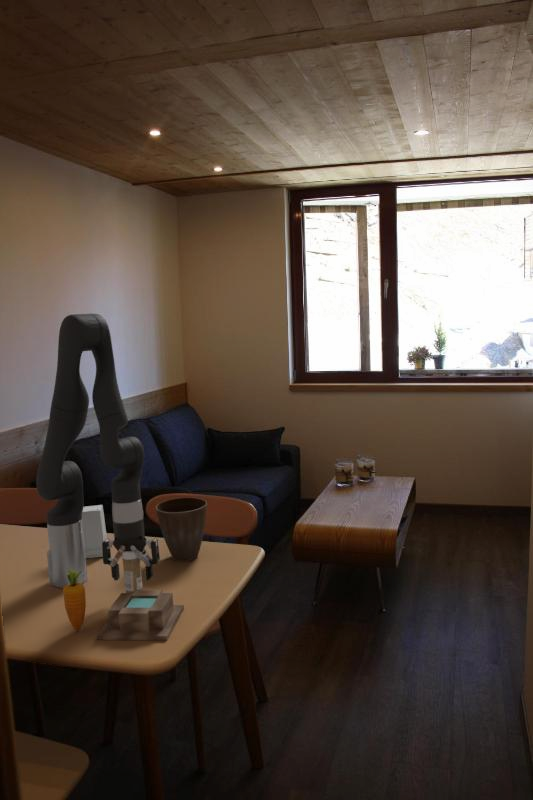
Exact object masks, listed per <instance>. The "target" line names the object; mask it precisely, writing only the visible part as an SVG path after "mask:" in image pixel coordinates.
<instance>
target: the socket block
mask: <svg viewBox="0 0 533 800" xmlns="http://www.w3.org/2000/svg"><path fill="white" fill-rule="evenodd" d="M132 598H157V599H156V600H155V602H154V603H153V605H152V607H151V608H126V607H127V605H128V604H129V602H130V601H131V600H132ZM184 610H185V606H184V604H174V598H173V592H163V590H161V589H159V590H158V589H157V590H155V589H154V590H153V589H151V590H150V589H149V590H145V589H144V590H143V589H142V590H135V592H134V593H126V592H121V593H120V594H119V595H118V597H117V598H116V599H115V601H114V602H113V603H112V604H111V606H110V607H109V608H108V610H107V615H108V621H107V622H106V624H105V625H104V626H103V628H102V629H101V630H100V631H99V633H98V635H97V640H98V639H103V640H102V641H168V640H169V638H170V636H171V634H172V633H173V631H174V628H175V626H176V624H177V623H178V621H179V619H180V618H181V615H182V613H183V611H184Z"/></svg>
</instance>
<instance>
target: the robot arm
mask: <svg viewBox="0 0 533 800" xmlns="http://www.w3.org/2000/svg"><path fill="white" fill-rule="evenodd" d="M57 349H58V350H57V362H56V363H57V365H56V373H55V381H54V388H53V393H52V399H51V404H50V411H49V419H48V425H47V429H46V431H47V432H46V436H45V441H44V446H43V451H42V454H41V457H40V461H39V465H38V469H37V473H36V477H35V478H36V480H35V482H36V483H35V484H36V490H37V493H38V495H39V496H40V498H42V500H45V501H54V500H57V501H56V503H55V504H54V505H53V506H52V507H51V508H50V509H49V510H48V511H47V513H46V516H45V518H46V525H47V534H48V535H47V538H48V547H49V548H48V550H47V552H46V558H47V559H46V561H47V569H48V580H49V586H54V587H57V588H62V589H63V588H64V587H65V586H66V585H68V584H70V581H69V580H68V577H67V573H69V571H68V570H69V569H72V573H73V571H76V575H77V573H78V572H79V571H82V572H81V573H80V574H79V576H78V578H77V579H78V581H77V582H76V583H82V584H84V583H86V582H87V580H88V570H87V558H86V556H85V545H84V534H83V524H82V511H83V507H85V506H84V504H85V503H84V482H83V475H82V471H81V469H80V467H79V466H78V465H77V463H76V462H74V461H71V460H65V459H66V457H67V453H69V450H70V449H71V447H72V446H73V444H74V443H75V441H76V440H77V439H78V437H79V436H80V434H81V433H82V431H83V430H84V427H85V425H86V422H87V417H88V412H89V405H90V397H89V393H88V391H87V388H86V386H85V384H84V381H83V380H82V377H81V373H80V372H81V371H80V366H81V358H82V354H83V352H88V351H89V352H91V353H92V355H93V358H94V362H95V363H94V364H95V378H94V381H93V387H92V396H91V397H92V398H91V399H92V405H93V409H94V412H95V415H96V419H97V422H98V423H97V424H98V426H99V450H100V458H101V460H102V462H103V464H104V465H105V466H106V467H107V468H108V469H110V470H119V469H121V472H120V473H119V474H118V475H116V476H115V477H114V478H112V480H111V482H110V487H111V488H110V489H111V490H110V491H111V501H112V503H111V513H112V515H111V516H112V526H113V528H112V529H113V537H114V539H109V538H108V537H107V539H106V540H105V541H104V542H103V543H102V551H103V557H102V563H103V565H108V566H110V570H111V577H112V579H113V580H114V581H118V580H120V575H121V573H120V565H119V563H118V562H119V561H120V560H121V558H122V553H123V552H124V551H133V552H134V553H135V554H136V555H137V556H138V558H139V559H140V562H141V561H142V562H143V563H144V565H145V569H144V570H145V580H146V581H151V579H152V578H153V576H154V567H153V566H154V565H157V564H158V562H159V561H161V560H160V559H161V558H160V557H161V555H160V549H159V540H158V538H156V537H154V538H153V539H147V538H146V537H145V534H146V533H145V521H144V508H143V504H142V496H141V485H140V483H141V478H142V471H143V465H144V461H145V450H144V445H143V443H142V442H141V441H140V440H139V438H137V437H135V436H127V437H123V438H119V432H120V430H122V429H123V428H125V427H126V426H127V425H128V423H129V422H128V416H127V413H126V410H125V407H124V406H125V405H124V403H123V400H122V396H121V392H120V389H119V385H118V378H117V372H116V365H115V357H114V349H113V344H112V336H111V332H110V327H109V324H108V322H107V321H106V319H105V318H104V316H102V315H101V314H97V313H79V314H78V313H76V314H73V313H72V314H68V315H67V316H65V317H64V318H63V319H62V321H61V324H60V327H59V331H58V345H57ZM146 546H147V547H148V548H149V549H150V550H151V556H150V555H149V552H148V551H147V549H146ZM113 547H114V549H116V550H117V552H116V553H115V555H114V557H113V558H112V554H111V553H112V552H111V549H112V548H113ZM76 575H75V576H76Z"/></svg>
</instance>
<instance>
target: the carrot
mask: <svg viewBox="0 0 533 800" xmlns="http://www.w3.org/2000/svg"><path fill="white" fill-rule="evenodd" d="M68 571H69V573H67V577H68V580H69V581H70V584H68V585H66V586H65V587H64V588H62V594H63V601H64V608H65V611H66V615H67V618H68V621H69V622H70V624H71V626H72V628H73V629H74V631H76V632H77V631H78V632H79V631H80V630H81V628H82V626H83V624H84V620H85V616H86V608H87V607H86V606H87V604H86V603H87V602H86V598H87V597H86V588H85V586H84V583H76V582H77V581H78V579H77V578H78V576H79V574H80V573H81V572H82V571H79V572H78V573H77V575H76V571H73V573H72V569H69V570H68ZM75 575H76V576H75Z"/></svg>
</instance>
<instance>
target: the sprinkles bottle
mask: <svg viewBox="0 0 533 800" xmlns="http://www.w3.org/2000/svg"><path fill="white" fill-rule="evenodd" d="M121 558H122V567H123V582H124V590H125V593H134V592H135V590H143V579H142V569H141V560H140V559H139V558H138V556H137V555H136V554H135V553H134V552H133V551H124V552H123V553H122V556H121Z"/></svg>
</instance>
